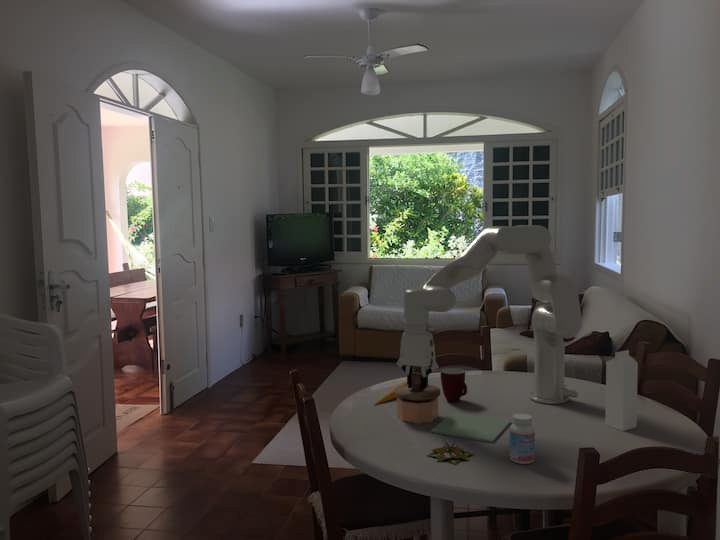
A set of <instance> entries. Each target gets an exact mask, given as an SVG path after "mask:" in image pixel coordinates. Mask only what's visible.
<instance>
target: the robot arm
mask: <svg viewBox="0 0 720 540" xmlns="http://www.w3.org/2000/svg"><path fill="white" fill-rule="evenodd" d="M551 243H552V235H551V232H550V231H549V229H548V228H546V227H545V226H543V225H537V224H533V225H532V224H531V225H528V224H522V225H521V224H519V225H514V226H511V225H509V226H507V225H491V226H487V227H486V228H484V229H483V230H481V231H480V233H478V235H477V236H476V237H475V238H474V239H473V240H472V242H471V243H469V245H468V246H467V247H466V248H465V249H464V250H463V251H462V252H461V254H460V255H459V256H458V257H456V258H455V259H454V260H452V261H450V262H449V263H447V264H446V265H445V266H443V267H442V268H440V269H439V270H438V271H437V272H435V273H434V274H433V275H432V277H430V278H429V280H428V281H427V282H425V284H424V285H423V287H422V288H414V287H413V288H408V289H406V290H405V291H404V293H403V304H404V305H403V309H404V310H403V315H404V317H403V318H404V319H403V320H404V322H403V324H404V325H403V326H404V332H403V333H402V336H401V340H400V352H399V353H400V354H399V358H398V360H397V361H396V366H398V367H399V368H400V369H402V370H403V372H404V373H405V375H406V382H407V384H408V388H412V381H411V374H412V373H414V367H419V368H421V369H420V370H421V373H422V377H421V390H424V389H426V388H427V386H428V385H429V375H431V374H432V372H435V371H436V370H437V369H439V365H438V362H437V361H436V353H435V352H436V351H435V343H434V338H433V333H431V332H433V331H434V326H432V325H430V324H431V323H430V312H432V313H447V312H449V311H452V310H453V309H454V307H455V306H456V303H457V296H456V294H455V293H454V291H452V289H453V288H454V287H455V286H457V285H459V284H460V283H463V282H466V281H469V280H471V279H473V278H476V277H478V276H479V275H480V274H481V273H482V272H483V271H484V270H485V269H486V268H487V267H488V266H489V264H491V263H492V261H493V259H495V257H497V256H498V254H500V255H501V254H503V255H520V254H521V255H522V256H523V258H524V259H525V261H526V264H527V269H528V273H529V281H530V288H531V292H532V293H531V294H532V295H533V297H534V299H536V300H537V301H539V302H542V303H547V304H543V305H542V304H541V305H539V306H538V307H536V308H535V309H534V310H533V313H532V315H531V326H532V331H533V339H534V366H533V367H534V371H533V373H534V381H533V382H534V383H533V384H534V385H533V387H534V389H533V391H531V392H529V398H530V399H531V400H532V401H534V402H537V403H541V404H548V405H556V404H557V405H560V404H565V403H567V402H569V400H570V397H571V398H575V399H577V398H578V397H579V392H578V391H576V390H575V389H568V388H567V384H565V353H566V352H565V351H566V348H565V341H564V339H572V338H574V337H576V336H577V335H578V334H579V333H580V331H581V329H582V322H583V321H582V311H581V305H580V298H579V297H580V296H579V291H578V288H577V285H576V283H575V282H574V280H573V279H572V278H571V277H569V276H568V275H567V276H566V275H563V274H558V272H557V269H556V267H557V266H556V263H555V257H554V254H553V252H552V250H551V248H550V245H551Z"/></svg>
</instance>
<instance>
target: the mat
mask: <svg viewBox="0 0 720 540" xmlns="http://www.w3.org/2000/svg"><path fill="white" fill-rule="evenodd" d="M511 422H512V420H507V419H501V418H494V417H487V416H482V415H474V414H469V413H459V412H454V411H453V412H452V413H450V414H449V415H448V416H447V417H445V418H444V419H443V420H441V422H439V423H438V424H437V425H436V426H434V427H433V428H432V429H431V430H430V433H432V432H434V433H433V434H438V433H440V434H439V435H443V434H446V436H449V435H451V437H455V436H457V437H456V438H461V437H463V439H467V438H468V439H469V440H473V441H474V440H475V441H481V442H485V443H494V442H495V441H496V440H497V439H498V438H499V436H500V435H501V434H502V433H503V432H504V431H505V430H506V429H507V428H508V426H509V425H511Z"/></svg>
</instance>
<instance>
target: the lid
mask: <svg viewBox="0 0 720 540" xmlns="http://www.w3.org/2000/svg"><path fill="white" fill-rule="evenodd" d="M421 377H422V372H413V373H412V374H411V381H412V388H408V385H403V386H399V385H398V386H399V387H398V386H396V387H397V388H396V387H395V388H396V389H395V388H394V389H395V395H396V396H397V397H399V398H403V399H408V400H428V399H433V398H436V397H437V398H439V397H440V396H441V389H440V388H439V387H437V386H434V385H432V384H431V385H430V384H428V386H427V388H426V389H424V390H421Z"/></svg>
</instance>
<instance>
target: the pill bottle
mask: <svg viewBox="0 0 720 540" xmlns="http://www.w3.org/2000/svg"><path fill="white" fill-rule="evenodd" d="M512 422H513V423H512V424H510V427H509V459H510V460H511V461H512V462H514V463H516V464H519V465H520V464H521V465H529V464H532V463H534V461H535V459H536V458H535V457H536V456H535V455H536V453H535V451H536V446H535V445H536V444H535V443H536V441H535V440H536V432H535V431H536V430H535V426H533V425H532V423H533V417H532V416H531V414H527V413H515V414H513V415H512Z"/></svg>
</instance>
